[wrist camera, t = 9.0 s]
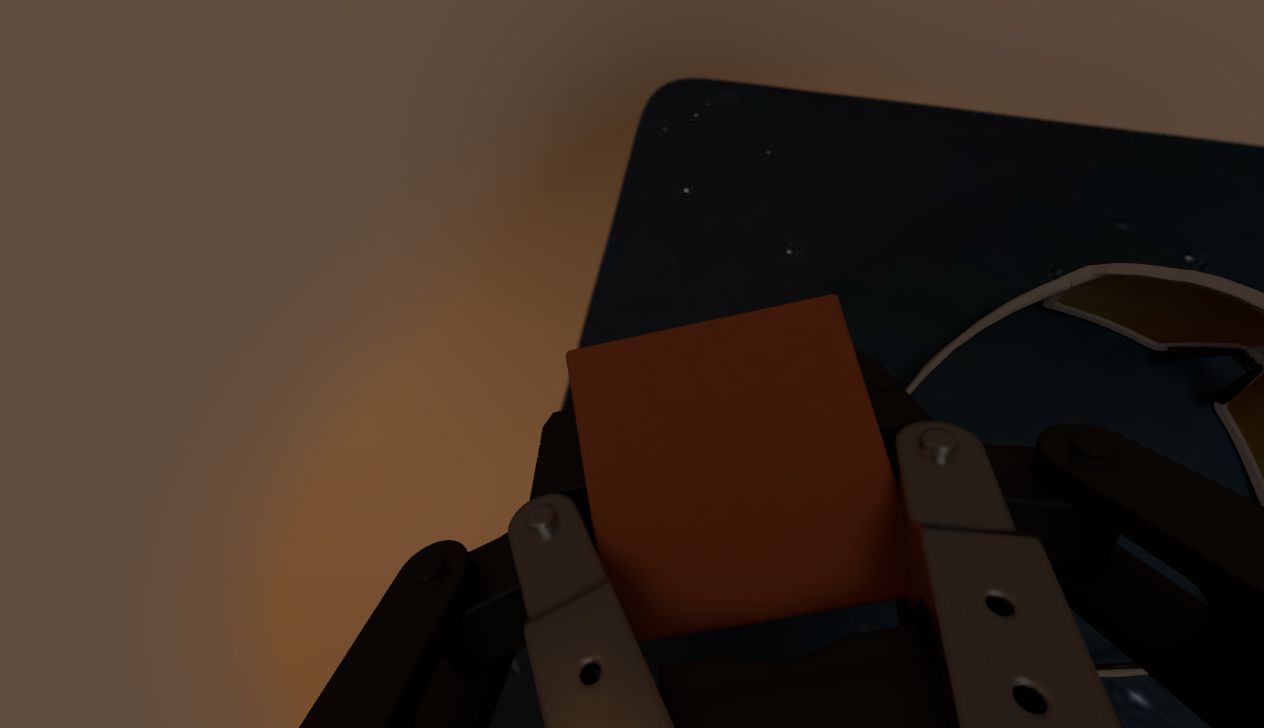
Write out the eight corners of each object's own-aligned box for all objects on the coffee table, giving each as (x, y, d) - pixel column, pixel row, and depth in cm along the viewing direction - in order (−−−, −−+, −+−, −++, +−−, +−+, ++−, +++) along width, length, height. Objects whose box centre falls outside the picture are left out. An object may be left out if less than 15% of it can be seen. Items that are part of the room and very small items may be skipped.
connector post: (653, 558, 16) (610, 650, 8) (627, 414, 18) (564, 350, 9) (801, 531, 16) (933, 594, 7) (763, 386, 17) (838, 291, 8)
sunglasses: (1363, 496, 19) (1562, 516, 15) (1033, 693, 21) (1115, 768, 16) (1080, 242, 23) (1165, 192, 18) (818, 428, 25) (834, 426, 20)
